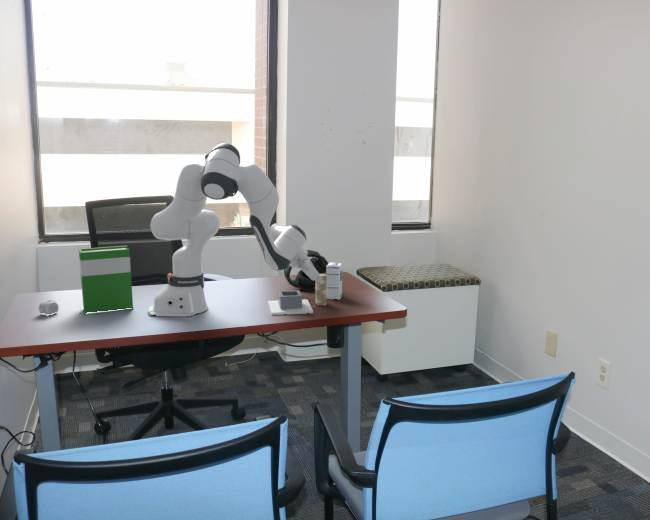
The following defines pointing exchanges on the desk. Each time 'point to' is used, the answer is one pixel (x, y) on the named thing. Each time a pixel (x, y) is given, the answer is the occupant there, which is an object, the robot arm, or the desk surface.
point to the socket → (289, 304)
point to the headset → (302, 279)
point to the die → (48, 307)
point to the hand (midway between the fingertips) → (321, 280)
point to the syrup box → (334, 280)
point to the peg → (321, 291)
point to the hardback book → (106, 278)
